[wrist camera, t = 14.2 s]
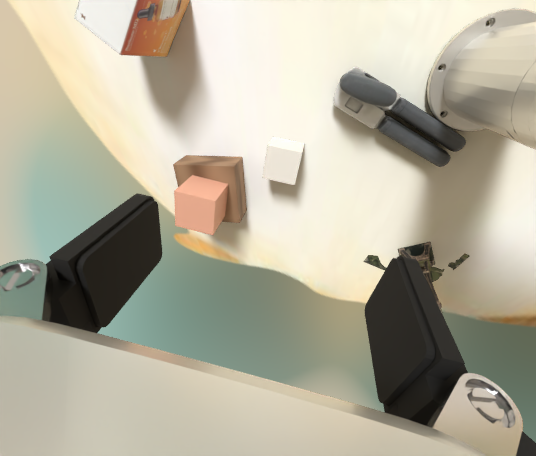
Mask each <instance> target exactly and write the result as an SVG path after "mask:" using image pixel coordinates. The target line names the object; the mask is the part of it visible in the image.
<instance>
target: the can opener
mask: <svg viewBox="0 0 536 456" xmlns="http://www.w3.org/2000/svg"><path fill="white" fill-rule="evenodd" d="M334 106H336V107H337V108H339V109H341V110H342V111H344V112H345V113H347V114H349V115H350V116H352V117H354V118H355V119H357V120H359V121H360V122H362V123H363V124H365V125H367V126H368V127H370V128H371V129H373V128H378V129H379V131H380V132H382V133H383V134H385V135H387V136H388V137H390V138H392V139H393V140H395V141H397V142H398V143H400V144H401V145H403V146H405V147H406V148H408V149H410V150H411V151H413V152H415V153H416V154H418V155H420V156H421V157H423V158H425V159H426V160H428V161H430V162H431V163H433V164H435V165H436V166H439V167H442V166H445V165H446V164H447V163H448V162H449V161H450V155H449V154H448V153H447V152H446V151H445V150H443V149H441V148H440V147H438V146H437V145H435V144H433V143H431V142H430V141H428V140H426V139H425V138H423V137H422V136H420V135H418V134H417V133H415V132H413V131H412V130H410V129H409V128H407V127H405V126H404V125H402V124H401V123H399V122H398V121H396V120H394V119H393V118H391V117H389V116H386V115H385V112H384V111H385V110H391V111H392V113H393V114H394V115H396V116H398V117H399V118H401V119H403V120H404V121H406V122H407V123H409V124H410V125H412V126H413V127H415V128H416V129H418V130H420V131H421V132H423V133H424V134H426V135H427V136H429V137H430V138H432V139H434V140H435V141H437V142H438V143H440V144H441V145H443V146H444V147H446V148H447V149H449V150H451V151H459V150H461V149H462V148H463V147H464V145H465V143H466V140H465V139H464V138H463V137H462V136H461V135H459V134H457V133H456V132H454V131H453V130H451V129H450V128H448V127H447V126H445V125H444V124H442V123H441V122H439V121H438V120H436V119H435V118H433V117H432V116H430V115H429V114H427V113H426V112H424V111H422V110H421V109H419V108H418V107H416V106H415V105H413V104H412V103H410V102H408V101H407V100H405V99H403V98H401V97H400V94H398V93H397V92H396V91H395V90H394V89H393V88H391V87H389V86H388V85H386V84H384V83H382V82H380V81H378V80H377V79H375V78H374V77H372V76H370V75H369V74H367V73H365V71H363V70H361V69H360V68H358V67H354V68H352V69H351V70H350V71H349V72H348V73H346V74H344V75H343V76H342V77H341V79H340V82H339V83H338V86H337V88H336V90H335V94H334Z"/></svg>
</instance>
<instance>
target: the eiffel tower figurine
mask: <svg viewBox="0 0 536 456" xmlns="http://www.w3.org/2000/svg"><path fill="white" fill-rule="evenodd" d="M398 252H399V256H404V257H408V258H412V259H416V260H417V261H418V263H419V265H420V267H421V269H422V271H423V274H424V276H425V278H426V280H427V282H428V284H429V287H430V289H431V291H432V293H433V295H434V297H435V300H436V302H437V304H438V306H439V308H440V309H441V307H442V306H441V303H440V302H439V300H438V298H437V295H436V292H435V290H434V287H433V284H432V282H433V281H436V280H437V279H439V277H440V276H442V272H443V271H444V269H443V270H441V269H438V268H436V267H432V266H433V265H434V264H435V261H434V256H433V252H432V247H431V242H427V243H423V244H418V245H414V246H409V247H404V248H400V249H398ZM468 257H469V255H467V254H464V255H463V256H462V257H461V258H460V259H459V260H456V262H455V263H449V265H448V266H449V267H451V268H452V269H453V270H454V269H455V268H456V267H458V266H459V265H460V264H461V263H462V262H463V261H465V260H466V259H467V258H468ZM364 262H366V263H368V264H371V265H373V266H376V267H378V268H380V269H383V270H386V269H387V268H385V267H384V266H383V265H382V264H381V263H380V260H379V258H378V256H373V255H368V256H367V258H366V259H365V260H364ZM441 311H442V310H441Z"/></svg>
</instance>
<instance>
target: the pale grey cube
mask: <svg viewBox="0 0 536 456" xmlns="http://www.w3.org/2000/svg"><path fill="white" fill-rule="evenodd" d="M304 144H305V143H301V142H296V141H292V140H287V139H282V138H278V137H273V138H272V139H271V141H270V142H269V144H268V145H267V152H266V158H265V164H264V171H263V177H262V178H265V179H269V180H273V181H278V182H282V183H287V184H291V185H295V182H296V178H297V173H298V169H299V165H300V161H301V157H302V152H303V148H304Z"/></svg>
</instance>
